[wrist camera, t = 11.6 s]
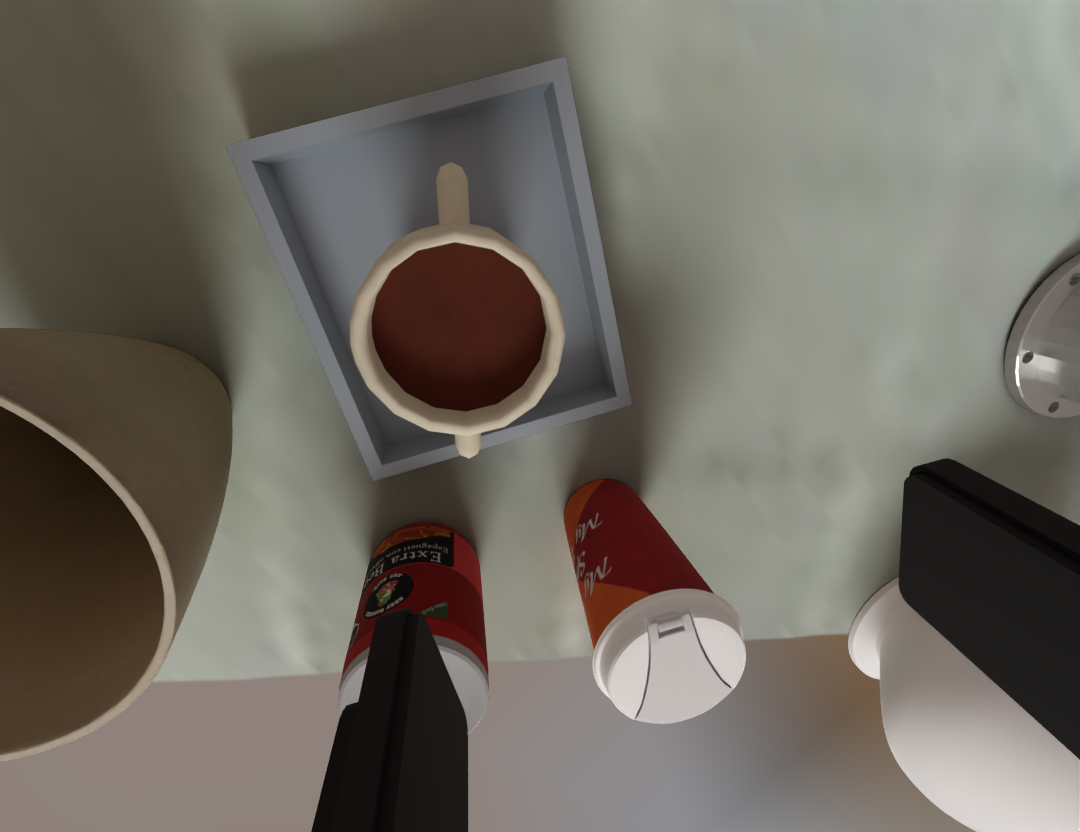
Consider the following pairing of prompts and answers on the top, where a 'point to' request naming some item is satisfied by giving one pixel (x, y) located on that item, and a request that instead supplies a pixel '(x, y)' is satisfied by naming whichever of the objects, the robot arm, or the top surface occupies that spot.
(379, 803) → the robot arm
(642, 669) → the paper cup
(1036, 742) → the decorative vase
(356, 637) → the canned food
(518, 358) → the character mug
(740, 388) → the top surface
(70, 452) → the plant pot
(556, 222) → the grey bin
